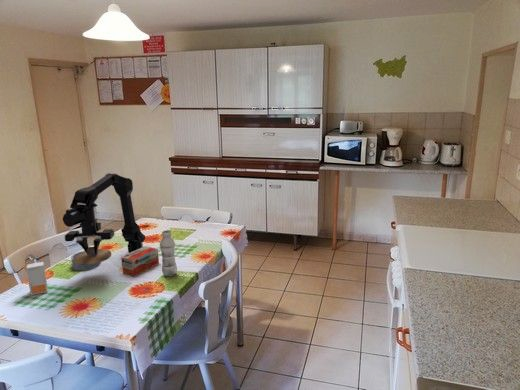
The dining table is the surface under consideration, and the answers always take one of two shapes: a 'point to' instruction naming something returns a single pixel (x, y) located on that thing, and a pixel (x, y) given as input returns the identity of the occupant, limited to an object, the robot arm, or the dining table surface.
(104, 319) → the dining table surface
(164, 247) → the plastic bottle
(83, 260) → the walnut lid
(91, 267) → the slate bowl
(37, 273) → the skincare box
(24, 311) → the dining table surface
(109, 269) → the dining table surface
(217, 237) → the dining table surface
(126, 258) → the red printed carton
